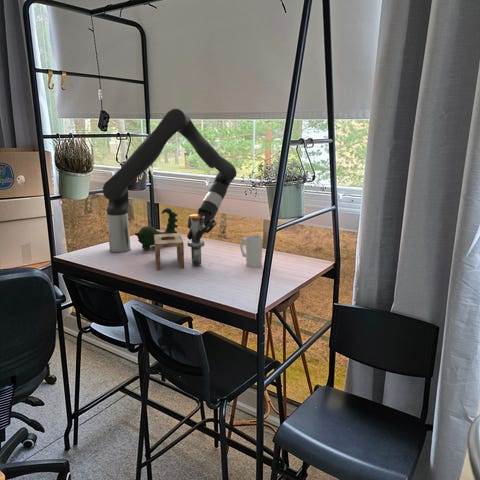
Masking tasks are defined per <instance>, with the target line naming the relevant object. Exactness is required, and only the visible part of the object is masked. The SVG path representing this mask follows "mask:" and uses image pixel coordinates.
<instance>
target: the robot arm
mask: <svg viewBox="0 0 480 480" xmlns="http://www.w3.org/2000/svg"><path fill="white" fill-rule="evenodd" d="M176 133H179V134H180V135H182V136H183V138H185V139H186V140H187V141H188V142H189V144H190V145H191V146H192V148H193V149H194V151H195V152H196V154H197V155H198V157H199V158H200V159H201V160H202V161H203V162H204V163H205V164H206V166H207V167H209V169H214V168H215V169H216V170H217V171H218V172H217V174H216V176H215V178H214V181H213V184H212V185H211V186H210V188H209V189H208V192H207V193H206V195H205V196H204V198H203V200H202V202H201V203H200V206H198V210H197V213H196V214H199V215H201V218H200V231H198V233H197V235H196V237H195V240H196V241H199V240H202V239H201V238H202V237H203V235H205V234H209V233H210V232H211V230H213V229H214V227H215V226H216V225H218V223H217V221H216V220H215V218H216V216H217V213H218V211H219V209H220V208H221V205H222V202H223V200H224V198H225V196H226V194H227V192H228V188H229V187H230V186H231V185H230V184H231V183H232V182H233V180H234V179H235V178H236V176H237V169H236V167H235V166H234V165H233V163H231V162H230V161H229V160H227V159H226V158H225V157H223V156H221V154H220V153H219V152H218V151H217V150H216V149H215V148H214V147H213V146H212V144H210V142H209V141H208V140H207V139H206V138H205V137H204V136H203V135H202V134H201V132H200V131H199V130H198V129H197V127H196V126H195V124H194V123H193V121H192V119H191V118H190V116H189V115H188V113H187V112H186V111H185V110H183V109H181V108H179V107H178V108H177V107H175V108H171V109H169V110H168V111H167V112H166V114H165V115H164V116H163V118H162V119H161V121H160V122H159V123H158V125H157V126H156V127H155V129H154V130H153V131H152V132H151V133H149V134H148V136H147V137H146V138H145V139H144V140H143V141H142V142H141V143H140V144H139V146H137V148H135V150H134V151H133V152H132V153H131V155H130V156H129V157H128V158H127V159H126V161H125V162H124V163H123V165H122V166H121V168H119V170H118V171H117V172H115V173H114V174H113V175H112V176H111V177H110V178H109V179H107V181H105V182H104V184H103V187H102V194H103V196H104V197H105V198H106V199H107V200H108V205H107V208H106V213H107V214H106V216H107V225H108V226H107V228H108V245H109V253H111V252H113V253H118V252H119V253H122V252H123V253H124V252H128V251H130V250H131V236H130V225H129V224H130V223H129V206H130V205H129V204H130V203H129V188H128V187H129V186H130V185H131V183H132V182H133V181H134V180H135V179H137V178H138V177H139V176H141V175H142V174H143V173H144V172H145V171H147V170H148V169H149V168H150V167H151V166H152V165H153V164H154V163H155V162H156V160H157V159H158V158H159V156H161V153H162V151H163V150H164V147H165V146H166V145H167V143H168V141H170V139H171V138H172V137H173V136H174V135H175V134H176ZM187 228H188V230H189V231H188V233H187V234H186V235H187V239H188V241H190V240H192V230H191V219H190V215H189V217H188V222H187Z"/></svg>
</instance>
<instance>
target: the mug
mask: <svg viewBox="0 0 480 480" xmlns="http://www.w3.org/2000/svg"><path fill="white" fill-rule="evenodd" d="M244 243H245V249H244ZM239 245H240V252H241V255H242V257H243V258H246V259H245V262H246V266H247V267H249V268H258V267H261V266H262V262H263V261H262V260H263V259H262V258H263V236H262V235H258V234H250V235H249V234H248V235H247V236H245V237H242V239H241V241H240V243H239Z"/></svg>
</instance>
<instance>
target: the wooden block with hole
mask: <svg viewBox="0 0 480 480" xmlns="http://www.w3.org/2000/svg"><path fill="white" fill-rule="evenodd" d="M154 242H155V245H154V253H155V254H154V255H155V258H154V259H155V266H156V271H162V266H161V263H162V262H161V248H162V249H163V248H176V259H177V262H178V264H179V269H185V249H184V247H185V246H184V241H183V238H182V236H181V233H180V232H177V233H172V234H155V235H154Z"/></svg>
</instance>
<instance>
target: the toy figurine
mask: <svg viewBox="0 0 480 480" xmlns="http://www.w3.org/2000/svg"><path fill="white" fill-rule="evenodd" d="M165 213H166V214H168V218H167V224H166V228H165V230H164V231H159V230H157V229H156V228H155V227H154V226H150V225H145V226H143V227H141V228H140V229H139V231H138V232H134V235H135V236H136V237H137V241H138V242H139V243H140V244H141V249H143V250H145V251H149V250H150V249H151V247H153V246H155V242H154V235H155V234H172V233H178V232H177V231H176V230H175V229H177V228H178V226H179V225H177V224H176V223H177V222H178V218H176V217H178V214H177V213H176V212H174V211H173V210H172V209H171V208H169V207H166V208H164V209H162V212H161V214H162V215H164V214H165Z"/></svg>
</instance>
